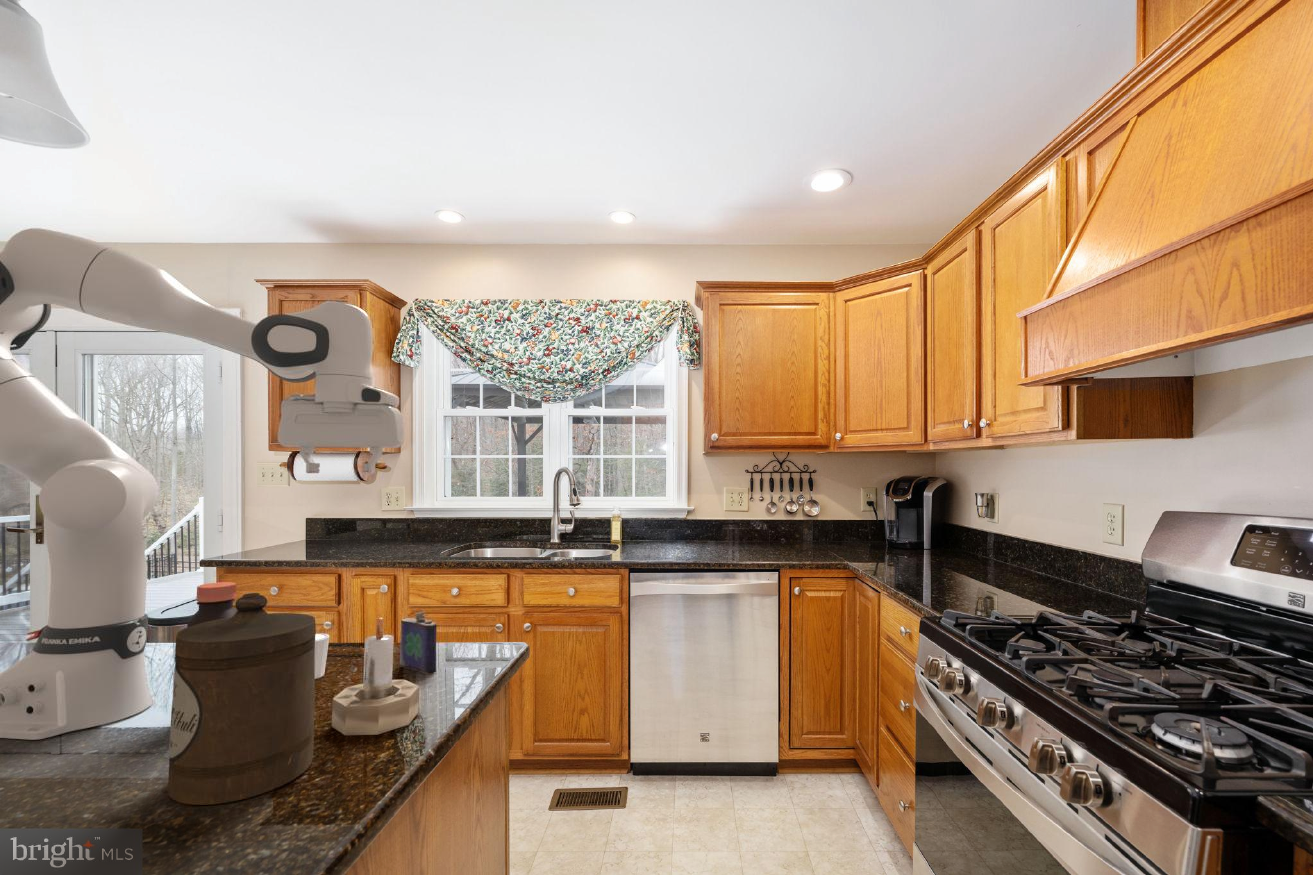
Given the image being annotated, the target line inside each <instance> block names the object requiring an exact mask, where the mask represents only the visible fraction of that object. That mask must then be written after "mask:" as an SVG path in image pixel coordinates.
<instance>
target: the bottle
mask: <svg viewBox="0 0 1313 875" xmlns="http://www.w3.org/2000/svg"><path fill="white" fill-rule="evenodd" d="M195 597H196V598H195V599H196V605H197V606H198V610H197V611H196V612H195V613H194V614H193V615H192V616H191V617H190V618H189V619H188V621H187V623H186V625H187V626H186V628H187V627H190V626H193V625H196V624H200V623H204V622H208V621H213V620H218V619H224V618H230V617H233V616H234V614H235V613H236V612H237V611H238V610H237V609H236V607H234V602H236V597H237V582H232V581H221V582H220V581H219V582H211V583H204V584H203V583H202V584H200V585H198V586H196V596H195Z"/></svg>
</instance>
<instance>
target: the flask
mask: <svg viewBox="0 0 1313 875" xmlns="http://www.w3.org/2000/svg"><path fill="white" fill-rule="evenodd" d="M426 613H427V612H426V611H425V610H424V611H419V612H414V616H415V618H413V617H412V618H408V617H407V618H403V619H401V621H400V623H401V624H400V626H401V627H400V628H401V629H400V654H399V666H400V667H401V668H402V667H404V668H403V669H408V670H409V669H411V670H410V671H416V672H417V671H418V672H420V673H423V674H425V675H427V674H428V675H429V674H430V675H432V674H435V673H437V627H438V626H437V622H433V620H431V619H428V618H427V617H426V616H425V615H424V614H426ZM434 672H435V673H434Z"/></svg>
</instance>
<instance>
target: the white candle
mask: <svg viewBox="0 0 1313 875" xmlns="http://www.w3.org/2000/svg"><path fill="white" fill-rule="evenodd" d="M384 619H385V618H384V617H377V618H376V624H375V627H376V628H375V635H372V636H368V637H366V638H365V639H364V651H363V652H364V655H363V680H362V681H363V682H362V684H363V700H373V699H381V698H385V697H388V696H392V680H393V665H394V664H393V663H394V639H395V638H394V637H395V636H394V635H389V634H384V625H385V624H384Z"/></svg>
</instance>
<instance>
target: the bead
mask: <svg viewBox="0 0 1313 875" xmlns="http://www.w3.org/2000/svg"><path fill="white" fill-rule="evenodd" d="M419 699H420V685H418V684H415V683H413V682H411V681H408V680H406V679H392V696H388V697H385V698H381V699H373V700H363V683H359V684H356V685H351V686H347V687H345V688H344V689H343V690H342V691H339V693H338V694H337V695H336V696H334V697H333V698H332V706H331V708H332V709H331V710H332V711H331V727H332V728H333V729H334V730H336V731H338V732H339V733H341V734H342V735H344V736H363V735H364V736H366V735H367V736H370V735H371V736H372V735H375V736H376V735H380V734H384V733H387V732H390V731H393V730H395V729H396V730H397V729H399V728H402V727H406V726H408V725H409V726H410V724H411V722H412V721H413V720H414V718H415V717H416V716H417V715H418V714H419V707H420V706H419V703H420V702H419V701H420V700H419Z"/></svg>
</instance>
